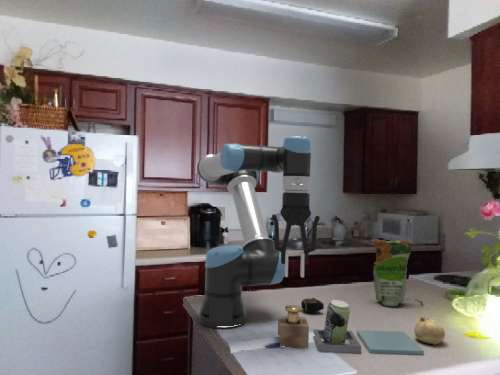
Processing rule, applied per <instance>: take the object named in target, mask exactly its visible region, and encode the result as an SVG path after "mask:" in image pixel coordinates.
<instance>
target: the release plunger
mask: <svg viewBox="0 0 500 375" xmlns="http://www.w3.org/2000/svg"><path fill="white" fill-rule="evenodd" d="M284 308H285V312H287V317H288V323H290V324H298V319H299V317H300V316H299V315H300V314H299V313H301V312H302V307H301V306H300V305H297V304H288V305H285V307H284Z"/></svg>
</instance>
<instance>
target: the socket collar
mask: <svg viewBox="0 0 500 375" xmlns="http://www.w3.org/2000/svg"><path fill="white" fill-rule="evenodd" d="M312 331H313V332H312V334H313V333H314V335H315V339H314V343H315V344H316V345H315V346H316V348H317V350H318V352H319V351H320V352H319V353H323V352H324V353H338V354H339V353H340V354H341V353H343V354H362V345H361V344H360V342H359V340H358V339H357V337H356V335H355V334H354V333H353V331H352V330H347V332H346V339H347V340H349V342H350V343H344V344H335V343H326V342H323V340H322V339H323V334H324V329H313V330H312ZM346 339H345V340H346Z"/></svg>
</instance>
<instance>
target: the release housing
mask: <svg viewBox="0 0 500 375" xmlns="http://www.w3.org/2000/svg"><path fill="white" fill-rule="evenodd" d="M277 318H278V320H277V336H278V335H279V342H278V344H279V343H280V345H281V346H285V347H292V348H291V349H304V348H308V349H309V336H310V335H309V333H310V332H309V331H310V329H309V328H310V326H309V322H308V321H307V317H306V316H299V319H298V324H290V323H288V316H285V315H284V316H282V315H281V316H280V315H278V317H277Z"/></svg>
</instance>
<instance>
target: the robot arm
mask: <svg viewBox="0 0 500 375" xmlns="http://www.w3.org/2000/svg"><path fill="white" fill-rule="evenodd" d="M311 158H312V148H311V139H310V138H309V137H308V136H304V135H290V136H289V135H288V136H285V137H284V139H283V145H282V146H270V145H268V146H267V145H253V144H244V143H243V144H242V143H237V142H236V143H235V142H234V143H224V144H223V146H222V148H221V150H220V152H218V153H216V154H207V155H204V156H203V157H201V158H200V159H199V160H198V162H197V165H196V172H197V175H198V177H199V178H200V179H201V180H202V181H203V182H205V183H207V184H210V185H216V186H226V188H227V191H228V193H229V194H232V197H233V201H234V207H235V209H236V214H237V218H238V222H239V227H240V231H241V234H242V239H243V243H244V244H243V245H238V244H237V245H236V244H233V245H229V244H227V245H221V246H216V247H213V248H211V249H209V250H208V251H207V253H206V256H205V263H204V267H205V271H204V272H205V273H204V275H205V276H204V278H205V279H204V281H205V282H204V297H203V300H202V303H201V306H200V309H199V312H198V323H199V324H200V325H203V326H204V327H208V328H212V329H216V328H215V327H217V326H234V325H239V324H243V325H244V324H246V323H247V312H246V307H245V304H244V300H243V298H242V291H243V290H242V288H243V287H254V286H271V285H276V284H280V283H281V282H282V281H283V279H284V277H285V278H288V277H289V252H288V251H287V248H288V243H289V238H290V232H291V229H292V226H298V227H299V232H300V238H301V244H302V250H303V251H301V252H300V270H299V271H300V274H299V275H300V278H305V266H308V265H309V254H310V253H311V252H315V251H316V247H317V246H316V245H317V231H318V224H319V221H320V220H321V217H320V215H316V214H313V213H312V211H311V209H310V196H311V195H310V193H308V192H309V191H310V190H311V187H310V186H311V161H312V159H311ZM260 172H270V173H282V190H283V191H284V192H283V193H282V200H281V201H282V203H281V209H280V210H279V212H278V213H274V214H272V215H271V219H272V221H273V227H274V228H273V229H274V230H273V232H274V233H273V234H274V240H273V239H272V238H269V235H268V231H267V228H266V225H265V221H264V218H263V214H262V211H261V210H262V209H261V207H260V204H259V200H258V197H257V193H256V189H255V188H256V187H257V184H258V183H259V180H260ZM281 217H282V218H283V220H284V222H285V223H286V224H285V228H284V235H283V237H282V238H283V239H282V242H281V246H280V224H279V221H281ZM309 218H310V221H311V225H310V226H311V228H310V240H309V241H310V242H309V243H310V244H308V239H307V233H306V232H307V231H306V226H305V225H306V222H307V220H309ZM308 245H309V246H308Z"/></svg>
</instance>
